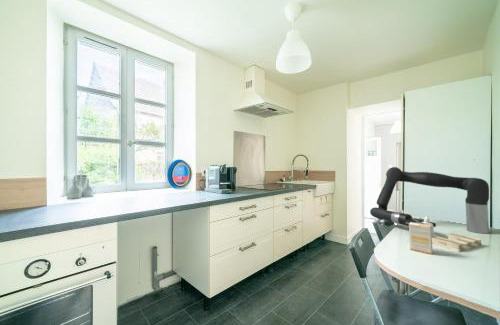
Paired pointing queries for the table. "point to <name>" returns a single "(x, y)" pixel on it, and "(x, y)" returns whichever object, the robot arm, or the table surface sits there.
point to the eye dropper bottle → (427, 221)
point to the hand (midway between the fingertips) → (432, 225)
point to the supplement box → (420, 237)
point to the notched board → (457, 242)
